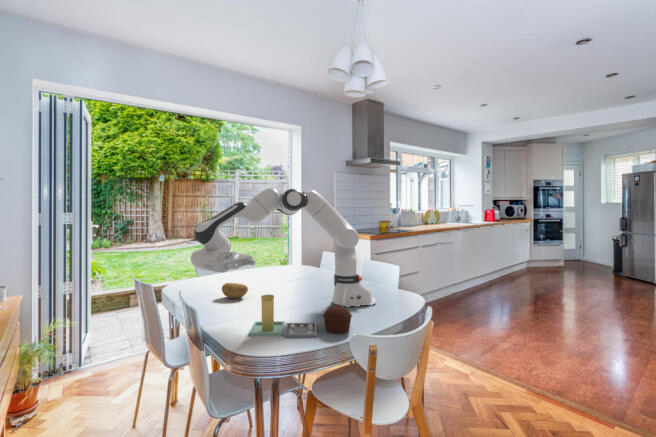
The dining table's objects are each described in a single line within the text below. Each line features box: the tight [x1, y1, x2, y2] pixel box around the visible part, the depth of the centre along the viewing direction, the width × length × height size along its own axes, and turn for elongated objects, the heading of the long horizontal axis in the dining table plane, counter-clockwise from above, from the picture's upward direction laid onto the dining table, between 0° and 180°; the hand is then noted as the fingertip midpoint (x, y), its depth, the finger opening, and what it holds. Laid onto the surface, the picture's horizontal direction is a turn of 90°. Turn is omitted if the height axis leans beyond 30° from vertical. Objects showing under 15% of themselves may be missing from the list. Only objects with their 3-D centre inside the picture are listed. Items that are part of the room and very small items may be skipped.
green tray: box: [248, 320, 286, 337], centre depth 125 cm, size 12×12×2 cm
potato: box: [221, 282, 249, 300], centre depth 171 cm, size 10×14×8 cm
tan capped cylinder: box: [260, 294, 275, 332], centre depth 125 cm, size 5×5×13 cm
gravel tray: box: [283, 322, 318, 339], centre depth 124 cm, size 12×12×2 cm
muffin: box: [322, 304, 353, 335], centre depth 125 cm, size 12×11×10 cm
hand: (246, 264), depth 132 cm, fingers open, 8 cm apart
